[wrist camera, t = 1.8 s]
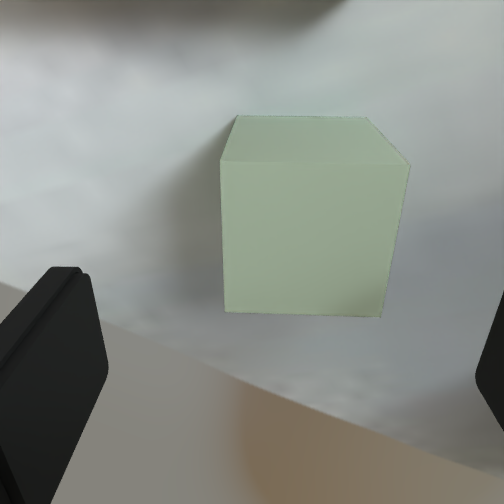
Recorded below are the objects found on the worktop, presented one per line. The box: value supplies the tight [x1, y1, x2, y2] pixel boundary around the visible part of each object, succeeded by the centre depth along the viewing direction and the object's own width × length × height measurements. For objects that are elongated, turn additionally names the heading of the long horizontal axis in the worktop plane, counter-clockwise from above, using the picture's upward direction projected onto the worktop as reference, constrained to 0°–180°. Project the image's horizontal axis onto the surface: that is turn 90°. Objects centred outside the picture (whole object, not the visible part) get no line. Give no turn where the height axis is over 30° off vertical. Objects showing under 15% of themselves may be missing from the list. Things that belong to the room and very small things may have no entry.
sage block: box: [220, 115, 410, 317], centre depth 15 cm, size 5×5×6 cm
